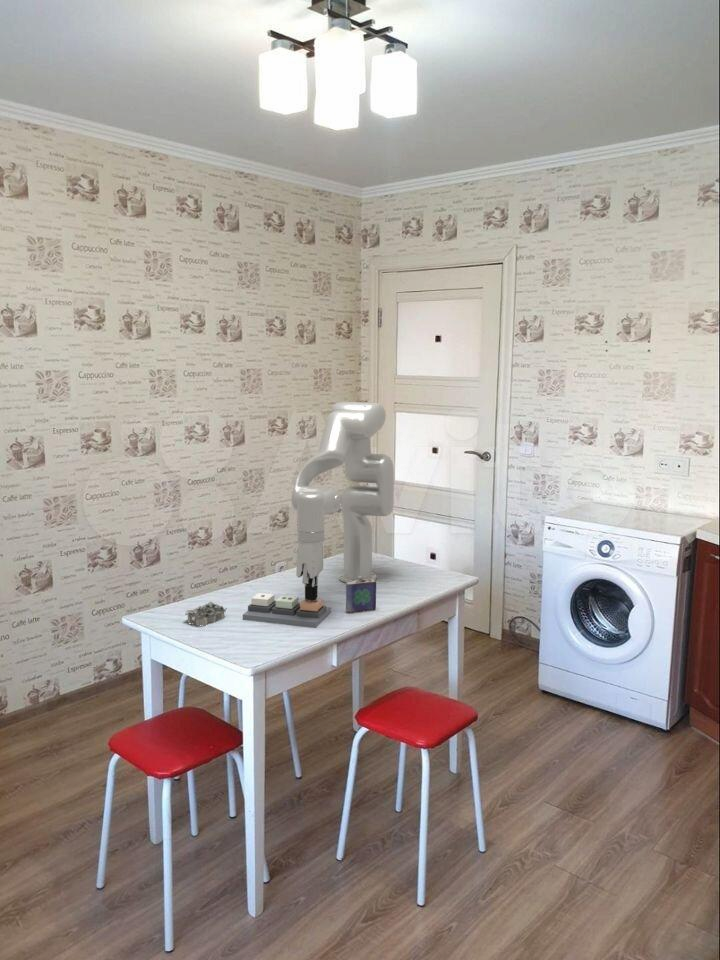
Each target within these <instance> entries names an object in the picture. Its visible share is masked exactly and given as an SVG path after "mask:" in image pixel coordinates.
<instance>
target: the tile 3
mask: <svg viewBox="0 0 720 960" xmlns="http://www.w3.org/2000/svg"><path fill="white" fill-rule="evenodd" d="M299 603H300V610H307V611H318V610H319V609H320V608H321V607H322V606H324V598H317V599H316V600H306V599H305V598H304V599H303V600H302V601H301V602H299Z"/></svg>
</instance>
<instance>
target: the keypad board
mask: <svg viewBox="0 0 720 960" xmlns="http://www.w3.org/2000/svg"><path fill="white" fill-rule="evenodd" d="M300 603H301V602H298V604H297V605H296V606H295V607H294V608H293V609H288V608H278V607H276V600H275V601H274V602H273V603H271V604H270V605H269V606H259V605H252V602H251V603H250V604H249V605H247V610H246V611H245V612H244V613H243V614H242V620H243V621H252V622H261V623H270V624H279V625H287V626H288V625H289V626H298V627H307V628H315V629H316V628H317V627H318V626H319V625H320V624H321V623H322V622H323V621H324V620H325V619H326V618H327V617H328V616H329V615H330V614H331V612H332V608H331V607H329V606H327V605H323V606H322V607H321V608H320V609H319V610H318V611H307V610H300Z"/></svg>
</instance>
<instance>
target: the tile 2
mask: <svg viewBox="0 0 720 960" xmlns="http://www.w3.org/2000/svg"><path fill="white" fill-rule="evenodd" d="M275 601H276V607H278V608H288V609H293V608H294V607H295V606H296V605H297V604H298V603H299V596H293V595H280V597H278V598H277V599H276V600H275Z"/></svg>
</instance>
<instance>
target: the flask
mask: <svg viewBox="0 0 720 960" xmlns="http://www.w3.org/2000/svg"><path fill="white" fill-rule="evenodd" d="M376 609H377V581H376V580H373V579H372V580H371V579H369V580H368V579H363V578H362V575H359V579H358V581H353V582H348V583H345V612H346V614H355V613H364V612H371V611H372V612H374V611H376Z"/></svg>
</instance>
